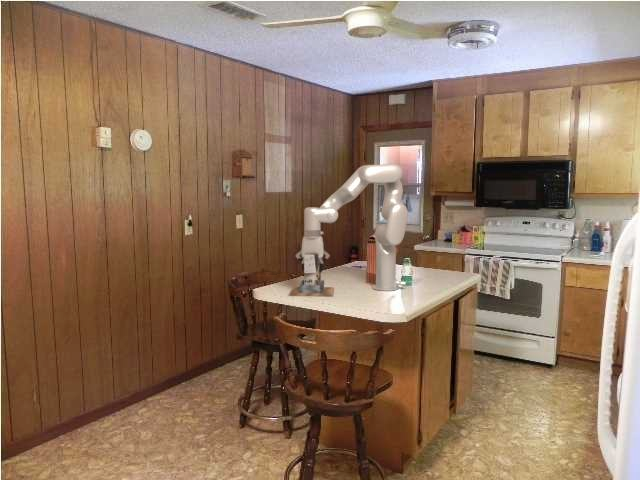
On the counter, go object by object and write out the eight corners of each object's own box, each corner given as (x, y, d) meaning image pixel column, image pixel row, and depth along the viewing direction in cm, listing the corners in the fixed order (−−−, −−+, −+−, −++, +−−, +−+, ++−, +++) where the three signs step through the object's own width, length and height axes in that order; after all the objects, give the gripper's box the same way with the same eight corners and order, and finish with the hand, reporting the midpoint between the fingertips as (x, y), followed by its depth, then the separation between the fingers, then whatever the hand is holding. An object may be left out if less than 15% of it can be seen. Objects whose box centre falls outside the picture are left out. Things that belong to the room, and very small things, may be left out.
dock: (334, 289, 238) (334, 280, 238) (333, 296, 223) (333, 286, 223) (293, 289, 240) (292, 279, 239) (289, 295, 225) (289, 285, 224)
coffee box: (317, 289, 226) (317, 254, 224) (303, 288, 227) (303, 254, 226) (321, 285, 235) (321, 251, 233) (308, 284, 236) (308, 251, 235)
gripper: (331, 233, 232) (331, 270, 234) (294, 233, 233) (295, 270, 235) (330, 234, 224) (330, 273, 226) (292, 234, 225) (293, 273, 227)
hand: (312, 271), depth 230 cm, fingers closed on coffee box, 6 cm apart
